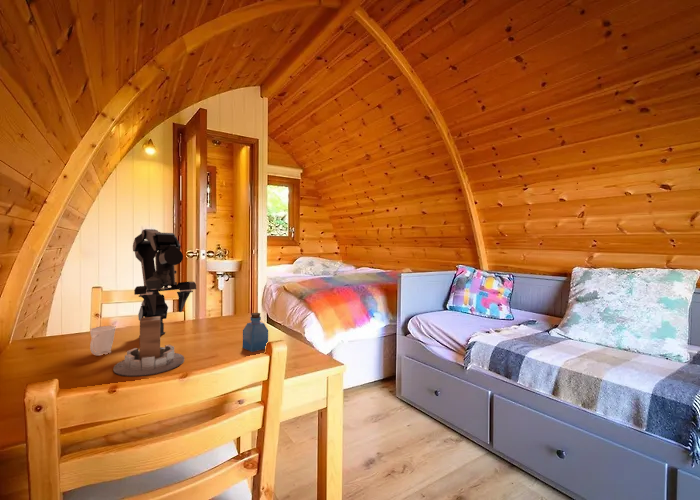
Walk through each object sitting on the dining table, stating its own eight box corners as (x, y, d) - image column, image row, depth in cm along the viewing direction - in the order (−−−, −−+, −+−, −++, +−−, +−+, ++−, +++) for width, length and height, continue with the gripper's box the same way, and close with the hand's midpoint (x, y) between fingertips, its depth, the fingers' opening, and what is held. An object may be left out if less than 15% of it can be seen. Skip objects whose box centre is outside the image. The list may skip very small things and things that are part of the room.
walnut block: (141, 360, 100) (141, 317, 100) (160, 358, 103) (160, 316, 102) (139, 366, 96) (139, 321, 96) (159, 363, 98) (159, 319, 98)
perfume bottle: (268, 348, 116) (268, 313, 116) (252, 352, 112) (252, 316, 112) (258, 344, 121) (258, 311, 120) (242, 347, 116) (243, 313, 116)
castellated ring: (96, 374, 91) (96, 359, 91) (142, 352, 109) (142, 340, 109) (159, 378, 90) (159, 363, 90) (195, 355, 108) (195, 342, 107)
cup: (120, 349, 112) (120, 325, 112) (104, 359, 103) (104, 333, 102) (97, 349, 111) (97, 325, 111) (78, 360, 101) (78, 334, 101)
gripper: (122, 269, 108) (124, 318, 107) (180, 264, 109) (182, 312, 107) (143, 271, 119) (145, 315, 118) (195, 266, 120) (198, 309, 118)
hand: (167, 313), depth 115 cm, fingers open, 9 cm apart
